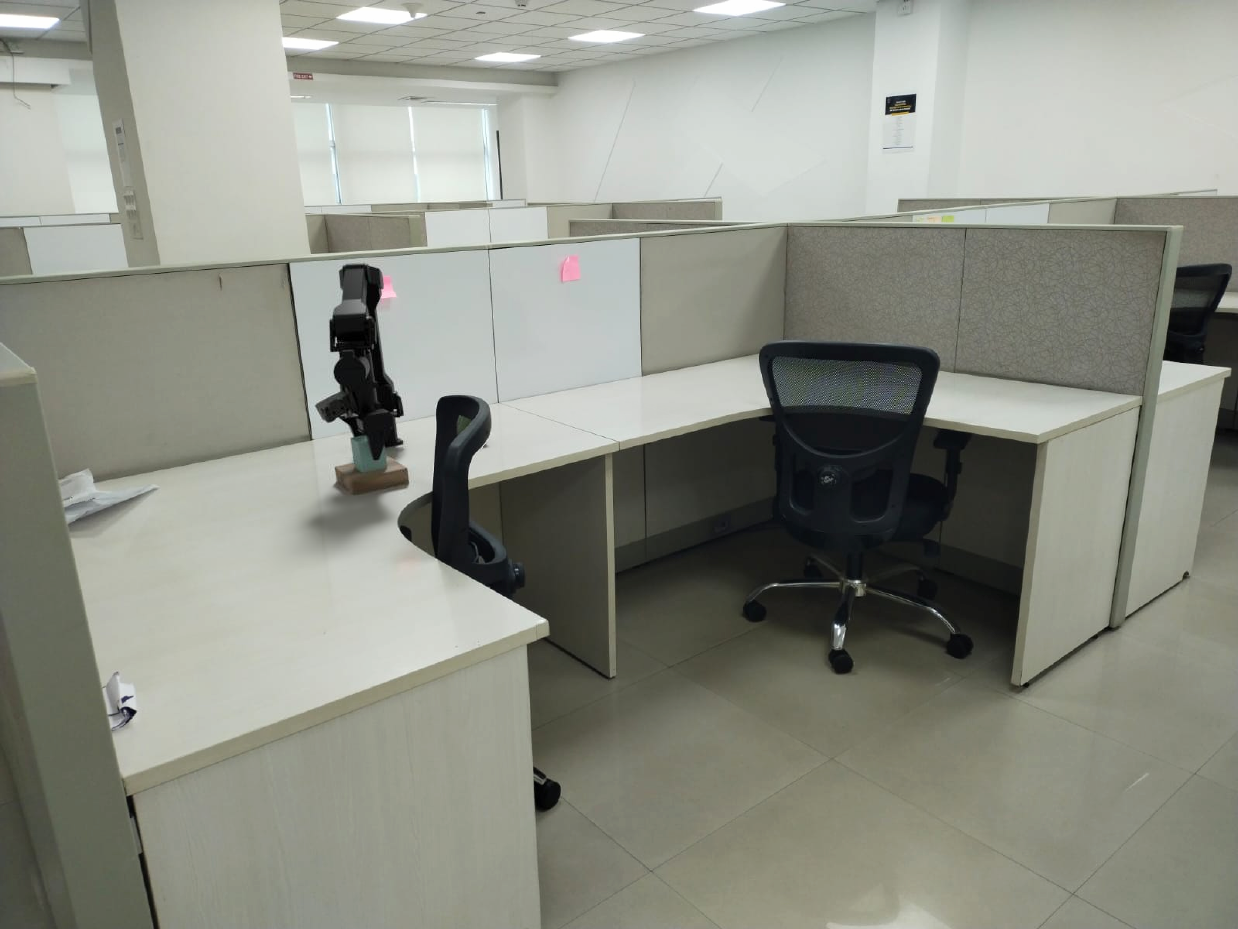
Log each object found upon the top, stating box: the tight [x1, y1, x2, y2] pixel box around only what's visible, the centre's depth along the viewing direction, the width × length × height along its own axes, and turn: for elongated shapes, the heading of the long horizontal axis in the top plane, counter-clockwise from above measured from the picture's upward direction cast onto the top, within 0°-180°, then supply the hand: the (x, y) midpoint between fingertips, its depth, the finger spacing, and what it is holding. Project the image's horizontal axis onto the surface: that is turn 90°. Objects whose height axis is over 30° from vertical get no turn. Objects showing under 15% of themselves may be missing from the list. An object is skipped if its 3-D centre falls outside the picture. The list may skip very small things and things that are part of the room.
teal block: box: [350, 435, 387, 473], centre depth 173 cm, size 5×5×6 cm
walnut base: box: [334, 455, 410, 496], centre depth 174 cm, size 11×11×3 cm
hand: (369, 455), depth 173 cm, fingers open, 8 cm apart
